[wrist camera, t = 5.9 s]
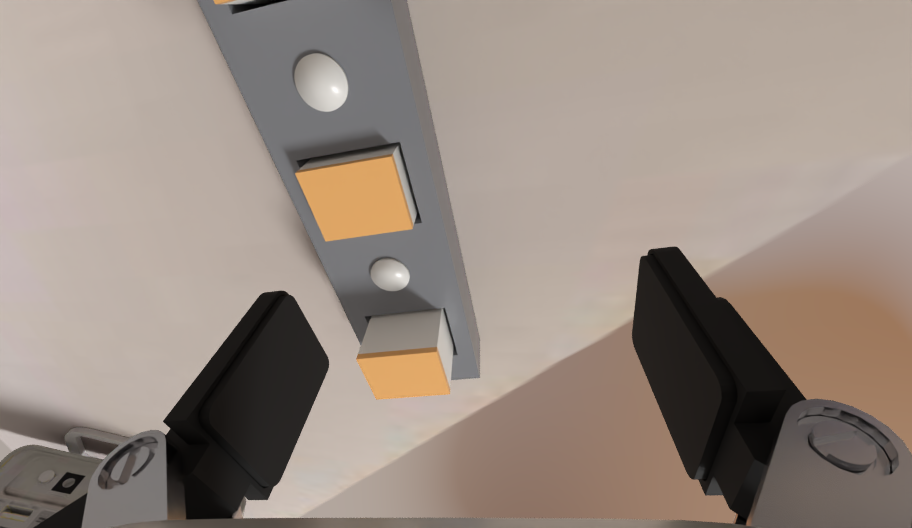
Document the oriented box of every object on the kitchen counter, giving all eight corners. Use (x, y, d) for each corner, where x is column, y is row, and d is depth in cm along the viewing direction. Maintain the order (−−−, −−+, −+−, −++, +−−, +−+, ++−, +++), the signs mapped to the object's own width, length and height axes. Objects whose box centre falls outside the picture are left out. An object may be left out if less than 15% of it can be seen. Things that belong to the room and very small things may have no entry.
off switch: (442, 301, 26) (436, 351, 22) (453, 342, 28) (449, 394, 24) (373, 309, 26) (356, 359, 23) (389, 348, 29) (376, 399, 25)
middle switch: (406, 130, 21) (391, 156, 18) (422, 194, 24) (412, 229, 20) (325, 145, 22) (294, 173, 19) (348, 205, 24) (325, 241, 21)
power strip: (350, -260, 14) (308, -345, 11) (479, 339, 32) (479, 379, 28) (166, -194, 15) (74, -252, 12) (389, 347, 33) (379, 387, 29)
